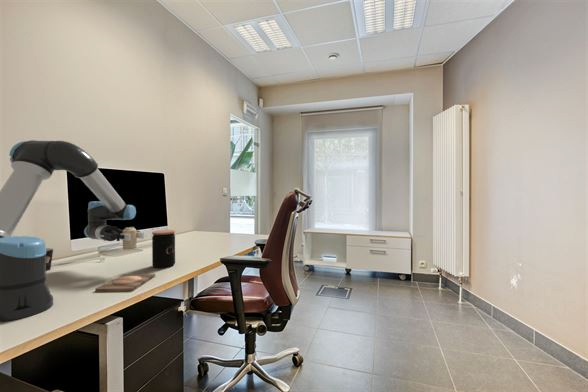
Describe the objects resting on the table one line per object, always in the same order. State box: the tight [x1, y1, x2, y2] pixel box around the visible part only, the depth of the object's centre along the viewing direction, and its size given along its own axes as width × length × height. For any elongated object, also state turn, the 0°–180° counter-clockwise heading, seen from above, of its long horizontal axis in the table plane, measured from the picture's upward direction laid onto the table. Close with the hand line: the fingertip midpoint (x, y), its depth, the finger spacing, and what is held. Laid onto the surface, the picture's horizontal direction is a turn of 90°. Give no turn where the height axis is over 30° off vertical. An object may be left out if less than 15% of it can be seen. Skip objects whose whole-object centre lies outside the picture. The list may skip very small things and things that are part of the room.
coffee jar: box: [151, 229, 176, 269], centre depth 138 cm, size 11×11×18 cm
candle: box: [122, 226, 138, 251], centre depth 124 cm, size 6×6×10 cm
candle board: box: [94, 273, 156, 293], centre depth 111 cm, size 18×14×2 cm
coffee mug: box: [46, 247, 54, 272], centre depth 129 cm, size 12×9×10 cm
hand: (136, 236), depth 122 cm, fingers closed on candle, 5 cm apart
